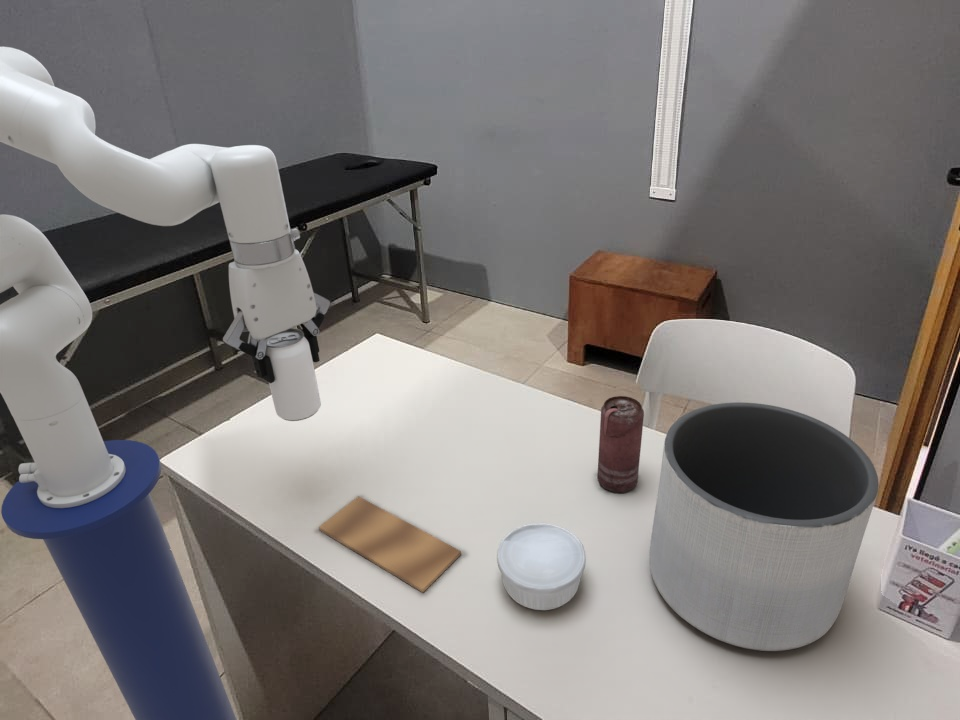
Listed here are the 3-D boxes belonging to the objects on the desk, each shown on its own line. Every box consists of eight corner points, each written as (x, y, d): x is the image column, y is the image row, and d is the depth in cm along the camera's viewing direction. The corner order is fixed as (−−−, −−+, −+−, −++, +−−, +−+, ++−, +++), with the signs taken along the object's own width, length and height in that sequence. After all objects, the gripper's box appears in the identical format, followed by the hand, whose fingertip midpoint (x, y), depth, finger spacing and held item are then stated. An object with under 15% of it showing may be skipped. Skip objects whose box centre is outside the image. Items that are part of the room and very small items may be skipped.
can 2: (587, 481, 101) (591, 406, 94) (613, 463, 104) (618, 389, 97) (619, 500, 97) (626, 423, 90) (645, 480, 100) (653, 405, 93)
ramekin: (552, 539, 90) (552, 510, 88) (602, 594, 82) (604, 564, 79) (482, 571, 86) (480, 542, 83) (527, 633, 77) (527, 603, 75)
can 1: (274, 404, 97) (256, 332, 91) (317, 393, 98) (303, 322, 93) (279, 426, 91) (261, 352, 85) (325, 415, 93) (310, 341, 87)
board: (319, 530, 94) (318, 527, 94) (358, 498, 99) (358, 496, 99) (423, 593, 83) (422, 589, 83) (461, 554, 89) (461, 551, 88)
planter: (658, 504, 95) (673, 388, 86) (829, 538, 88) (866, 416, 78) (635, 628, 77) (650, 499, 67) (848, 684, 70) (899, 549, 60)
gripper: (305, 225, 90) (326, 339, 99) (184, 261, 80) (220, 385, 89) (336, 235, 86) (355, 353, 94) (212, 275, 75) (247, 404, 84)
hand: (289, 368), depth 91 cm, fingers closed on can 1, 6 cm apart
